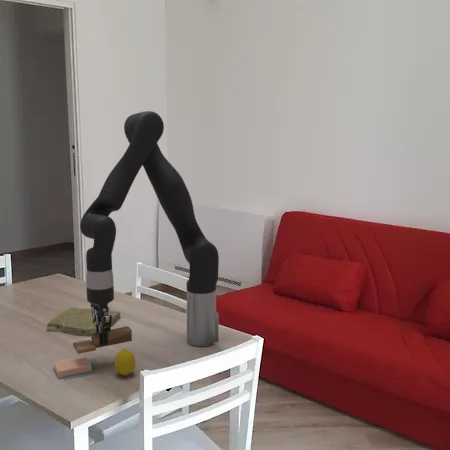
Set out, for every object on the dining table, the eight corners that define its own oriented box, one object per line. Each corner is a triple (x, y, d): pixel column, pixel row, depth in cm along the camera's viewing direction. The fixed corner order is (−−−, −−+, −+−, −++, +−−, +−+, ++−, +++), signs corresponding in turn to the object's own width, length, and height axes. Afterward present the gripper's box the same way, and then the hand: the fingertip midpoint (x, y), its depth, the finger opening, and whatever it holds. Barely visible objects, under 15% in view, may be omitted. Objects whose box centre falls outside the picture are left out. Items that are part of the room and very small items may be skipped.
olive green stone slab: (68, 314, 209) (68, 305, 209) (121, 319, 205) (120, 309, 205) (42, 334, 191) (42, 324, 191) (99, 339, 187) (99, 329, 187)
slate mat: (94, 359, 171) (94, 358, 171) (104, 372, 163) (104, 371, 163) (56, 366, 166) (56, 365, 166) (64, 381, 158) (64, 379, 158)
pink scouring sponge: (85, 355, 168) (53, 361, 164) (91, 365, 162) (58, 371, 158) (85, 362, 168) (53, 368, 164) (91, 371, 162) (59, 378, 158)
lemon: (136, 371, 164) (135, 345, 162) (134, 380, 158) (133, 353, 157) (116, 371, 163) (116, 345, 162) (113, 380, 158) (112, 353, 156)
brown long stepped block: (133, 342, 167) (133, 331, 167) (78, 353, 160) (77, 341, 159) (127, 335, 173) (126, 324, 172) (73, 346, 165) (72, 334, 165)
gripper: (120, 289, 158) (122, 348, 162) (105, 276, 170) (107, 331, 174) (93, 293, 155) (95, 353, 158) (80, 279, 167) (82, 336, 170)
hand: (102, 341), depth 166 cm, fingers closed on brown long stepped block, 3 cm apart
